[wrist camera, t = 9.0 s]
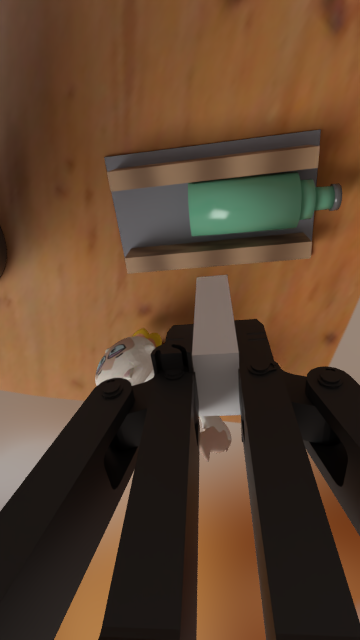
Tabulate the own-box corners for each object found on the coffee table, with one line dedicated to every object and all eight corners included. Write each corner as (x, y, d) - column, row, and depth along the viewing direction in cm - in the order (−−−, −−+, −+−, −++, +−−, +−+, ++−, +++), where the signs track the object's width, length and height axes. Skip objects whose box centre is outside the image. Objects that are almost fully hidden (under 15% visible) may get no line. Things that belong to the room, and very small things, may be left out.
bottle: (190, 236, 32) (346, 224, 31) (186, 177, 31) (349, 161, 29) (193, 236, 38) (327, 226, 36) (190, 186, 36) (328, 172, 35)
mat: (128, 271, 42) (127, 272, 41) (105, 157, 35) (104, 157, 35) (309, 256, 39) (310, 257, 38) (319, 129, 33) (320, 129, 32)
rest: (133, 262, 40) (127, 273, 37) (115, 168, 35) (106, 172, 32) (302, 247, 38) (310, 258, 35) (309, 144, 33) (319, 146, 30)
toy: (145, 288, 43) (118, 356, 30) (249, 368, 48) (264, 457, 35) (107, 331, 46) (67, 409, 33) (207, 402, 51) (207, 493, 38)
